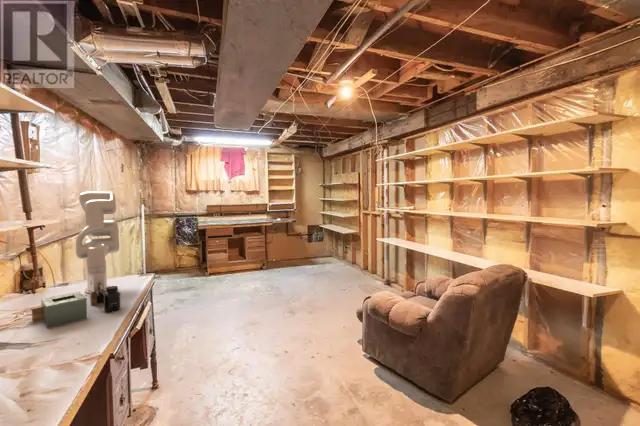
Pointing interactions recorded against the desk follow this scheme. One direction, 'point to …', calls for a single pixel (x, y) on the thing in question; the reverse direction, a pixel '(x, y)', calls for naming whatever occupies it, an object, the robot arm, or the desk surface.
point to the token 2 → (94, 298)
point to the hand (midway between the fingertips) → (98, 300)
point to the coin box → (63, 309)
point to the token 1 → (37, 313)
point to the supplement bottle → (111, 299)
